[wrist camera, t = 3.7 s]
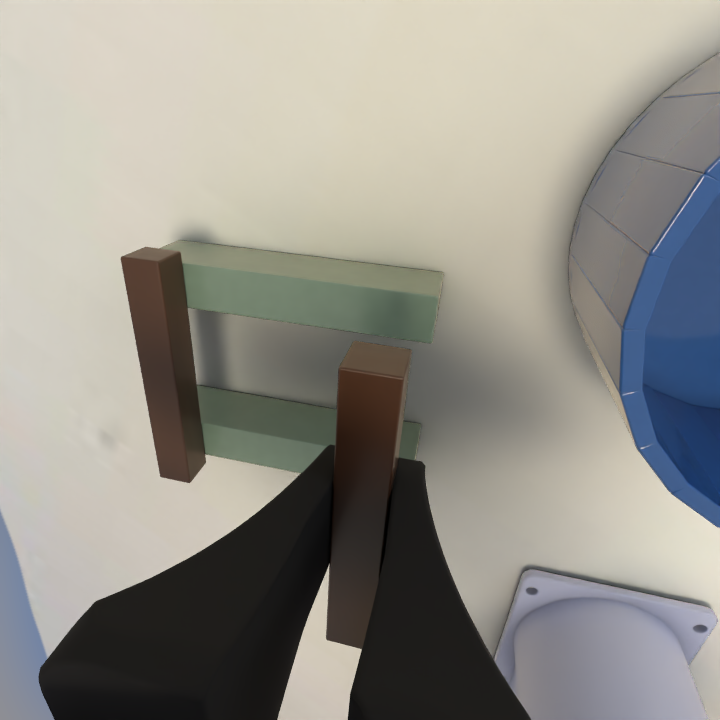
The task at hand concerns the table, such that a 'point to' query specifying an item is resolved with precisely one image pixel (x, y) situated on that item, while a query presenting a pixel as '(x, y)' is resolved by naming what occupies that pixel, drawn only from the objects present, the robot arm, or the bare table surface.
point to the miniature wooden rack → (307, 307)
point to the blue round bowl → (660, 284)
